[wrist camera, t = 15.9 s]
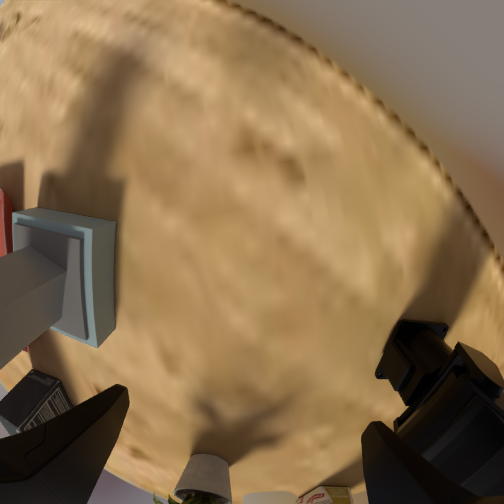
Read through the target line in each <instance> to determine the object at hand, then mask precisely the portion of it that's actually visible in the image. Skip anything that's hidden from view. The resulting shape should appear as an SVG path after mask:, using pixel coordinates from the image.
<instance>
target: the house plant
mask: <svg viewBox="0 0 504 504" xmlns="http://www.w3.org/2000/svg"><path fill="white" fill-rule="evenodd" d="M173 493H174V495H175V496H176V497H177V498H178V499H180V500H182V501H183V502H182V503H181V504H232V496H231V487H230V476H229V465H228V463H227V461H225V460H224V459H222V458H220V457H218V456H215V455H211V454H195V455H193V456H191V457H190V459H189V461H188V463H187V465H186V468H185V470H184V472H183V474H182V476H181V478H180V480H179V482H178V484H177V486H176V488H175V490H174V492H173ZM154 502H155V503H156V504H163V503H162V502H160V501H159V500H158V499H157V498H156V496H155V494H154ZM168 503H169V504H180V503H178V502H176V501H174V500H173V499H172V498H171V497H170V495H169V499H168Z"/></svg>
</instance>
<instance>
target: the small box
mask: <svg viewBox="0 0 504 504" xmlns="http://www.w3.org/2000/svg"><path fill="white" fill-rule="evenodd" d="M71 408H73V406H72V404H71V402H70V400H69V398H68V396H67V394H66V392H65V390H64V388H63V385H62V383H61V381H60V380H58V379H56V378H53V377H51V376H48V375H46V374H43V373H41V372H39V371H37V370H34V369H32V370H31V371H30V372H29V373H28V374H27V375H26V376H25V377H24V378H23V379H22V380H21V381H20V382H19V383H18V384H17V385H16V386H15V387H14V388H13V389H12V390H11V391H10V392H9V393H8V394H7V395H6V396H5V397H4V398H3V399H2V400H1V401H0V421H1V423H2V424H3V426H4V427H5V428H6V430H7V431H8V433H9V434H10V435H15V434H18V433H20V432H23V431H26V430H28V429H31V428H33V427H35V426H37V425H39V424H41V423H43V422H46V421H48V420H50V419H52V418H54V417H56V416H58V415H59V414H61V413H63V412H65V411H67V410H69V409H71Z"/></svg>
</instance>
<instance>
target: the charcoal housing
mask: <svg viewBox="0 0 504 504" xmlns="http://www.w3.org/2000/svg"><path fill="white" fill-rule="evenodd" d="M66 275H67V271H66V270H65V269H63V268H62V267H60V266H59V265H57V264H56V263H54V262H53V261H51V260H50V259H49V258H47V257H46V256H44V255H43V254H41V253H40V252H39V251H37V250H36V249H35V248H33V247H32V246H27V247H25V248H22V249H19V250H17V251H14V252H12V253H9V254H7V255H4V256H2V257H0V370H1V369H2V368H3V367H4V366H5V365H6V364H7V363H8V362H10V361H11V360H12V359H13V358H14V357H15V356H16V355H18V354H19V353H20V352H21V351H22V350H23V349H25V348H26V347H27V346H28V345H29V344H30V343H32V342H33V341H34V340H35V339H36V338H38V337H39V336H40V335H41V334H43V333H44V332H45V331H46V330H47V329H49V328H50V327H51V326H52V325H54V324H55V323H56V322H57V321H59V320H60V319H61V318H62V308H63V298H64V289H65V282H66Z"/></svg>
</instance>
